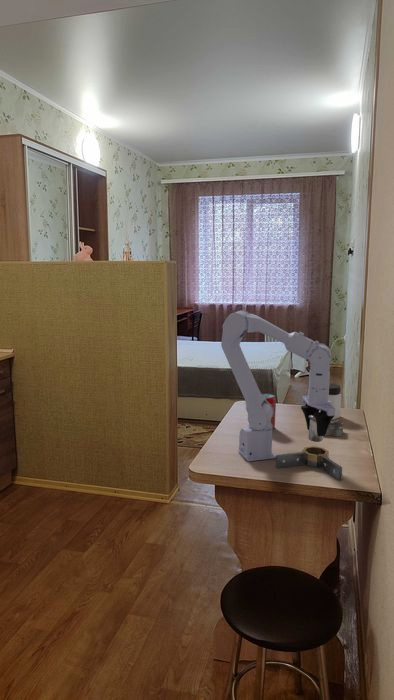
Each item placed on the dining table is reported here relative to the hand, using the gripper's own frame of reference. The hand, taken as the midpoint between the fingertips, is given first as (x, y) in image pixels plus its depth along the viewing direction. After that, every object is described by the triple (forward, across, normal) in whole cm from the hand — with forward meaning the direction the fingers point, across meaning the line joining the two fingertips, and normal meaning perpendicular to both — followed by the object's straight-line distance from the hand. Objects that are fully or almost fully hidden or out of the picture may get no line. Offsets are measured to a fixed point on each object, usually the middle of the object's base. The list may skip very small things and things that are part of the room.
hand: (316, 432), depth 145 cm
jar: (+9, +37, -29) cm, 48 cm away
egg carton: (+9, +22, -19) cm, 30 cm away
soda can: (+9, +32, 0) cm, 33 cm away
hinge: (+9, -5, +5) cm, 11 cm away
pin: (+2, 0, 0) cm, 2 cm away
